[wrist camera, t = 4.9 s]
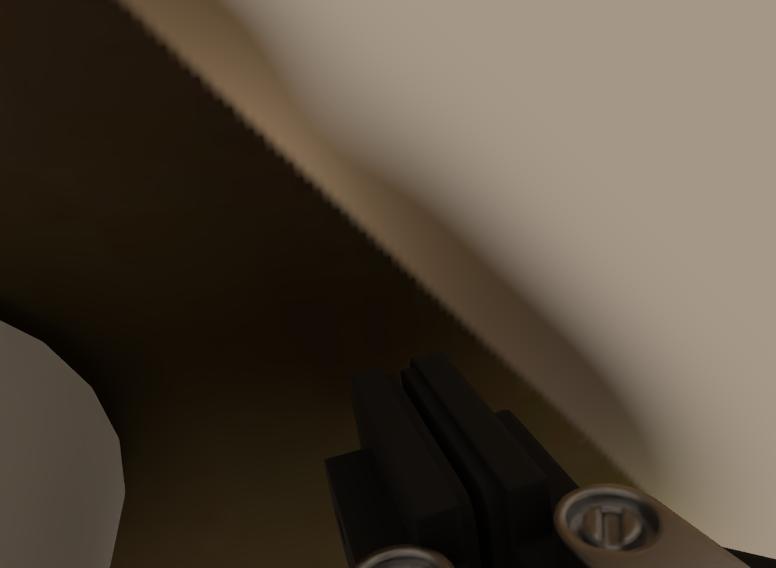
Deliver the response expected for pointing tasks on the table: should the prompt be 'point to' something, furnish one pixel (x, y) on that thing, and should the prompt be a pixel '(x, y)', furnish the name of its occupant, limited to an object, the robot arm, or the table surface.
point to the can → (54, 462)
